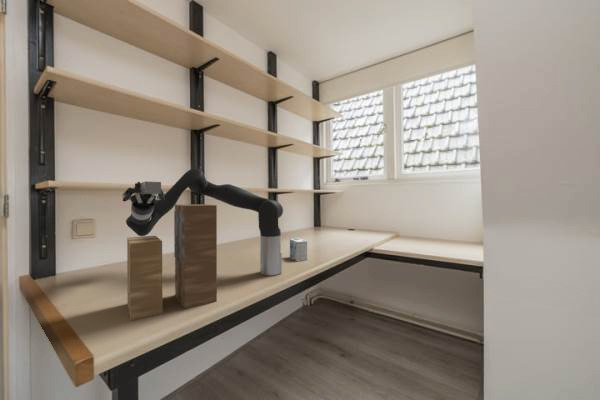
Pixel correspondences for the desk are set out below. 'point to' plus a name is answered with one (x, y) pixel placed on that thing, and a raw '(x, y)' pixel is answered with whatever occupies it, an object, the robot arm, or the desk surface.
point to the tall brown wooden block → (195, 254)
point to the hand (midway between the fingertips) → (146, 184)
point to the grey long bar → (150, 188)
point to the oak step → (144, 276)
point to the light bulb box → (298, 249)
